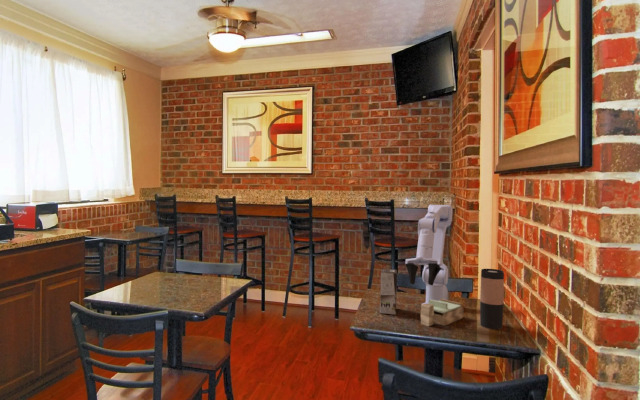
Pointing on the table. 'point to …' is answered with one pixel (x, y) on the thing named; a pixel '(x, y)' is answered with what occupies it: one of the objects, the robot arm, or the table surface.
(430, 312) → the wooden block
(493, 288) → the travel mug
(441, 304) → the cabinet door
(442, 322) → the wooden box
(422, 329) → the table surface
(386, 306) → the coffee box
